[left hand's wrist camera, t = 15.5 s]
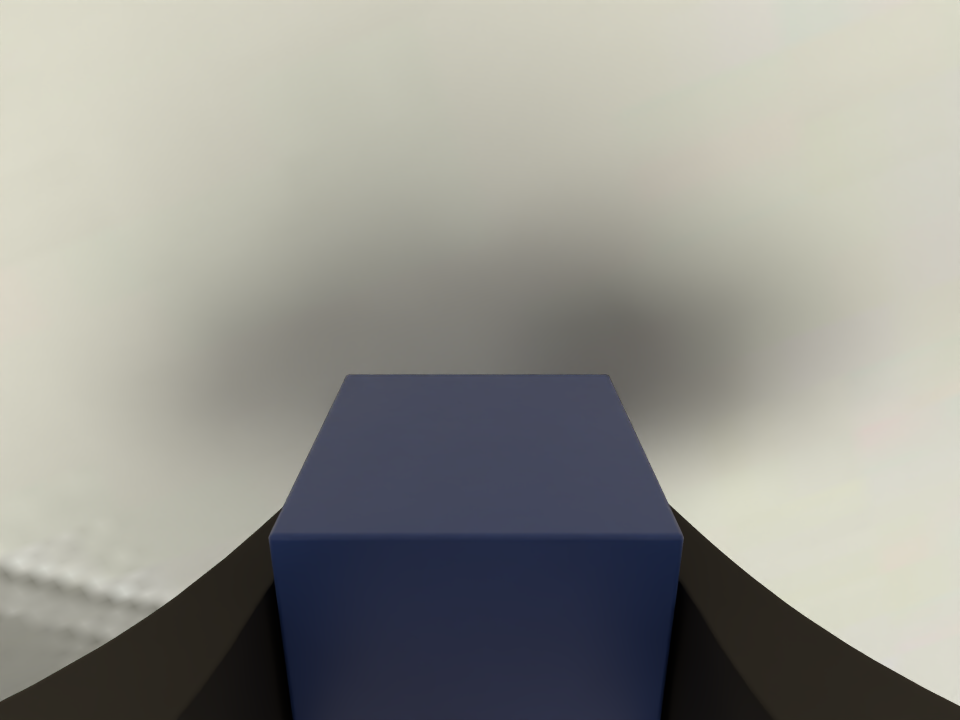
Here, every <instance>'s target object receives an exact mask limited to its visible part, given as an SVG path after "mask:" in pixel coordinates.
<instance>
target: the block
mask: <svg viewBox="0 0 960 720" xmlns="http://www.w3.org/2000/svg"><path fill="white" fill-rule="evenodd" d="M683 540H684V537H683V534H682V532H681V530H680V528H679V525H678V523H677V521H676V519H675V517H674V515H673V512H672V510H671V508H670V506H669V504H668V502H667V500H666V497H665V495H664V493H663V491H662V489H661V487H660V485H659V482H658V480H657V478H656V476H655V474H654V472H653V470H652V467H651V465H650V463H649V461H648V459H647V457H646V454H645V452H644V450H643V448H642V446H641V444H640V442H639V439H638V437H637V435H636V433H635V431H634V429H633V427H632V424H631V422H630V420H629V418H628V416H627V414H626V412H625V409H624V407H623V405H622V403H621V401H620V399H619V397H618V394H617V392H616V390H615V388H614V386H613V384H612V381H611V379H610V377H609V376H608V375H347V376H346V378H345V380H344V382H343V384H342V386H341V388H340V390H339V392H338V394H337V396H336V398H335V400H334V402H333V404H332V407H331V409H330V411H329V413H328V415H327V417H326V419H325V421H324V423H323V425H322V427H321V429H320V431H319V433H318V435H317V438H316V440H315V442H314V444H313V446H312V448H311V450H310V452H309V454H308V456H307V458H306V460H305V462H304V464H303V466H302V469H301V471H300V473H299V475H298V477H297V479H296V481H295V483H294V485H293V487H292V489H291V491H290V493H289V495H288V497H287V500H286V502H285V504H284V506H283V508H282V510H281V512H280V514H279V516H278V518H277V520H276V522H275V524H274V526H273V528H272V531H271V533H270V535H269V544H270V552H271V560H272V567H273V575H274V582H275V590H276V597H277V605H278V612H279V620H280V627H281V635H282V642H283V650H284V657H285V665H286V672H287V680H288V687H289V695H290V703H291V710H292V718H293V720H661V712H662V704H663V696H664V689H665V681H666V673H667V665H668V657H669V649H670V642H671V634H672V626H673V618H674V610H675V603H676V595H677V587H678V579H679V571H680V563H681V556H682V548H683Z"/></svg>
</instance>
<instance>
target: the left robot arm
mask: <svg viewBox="0 0 960 720" xmlns="http://www.w3.org/2000/svg"><path fill="white" fill-rule="evenodd" d="M669 506H670V505H669ZM282 508H283V507H282ZM282 508H281V509H280V510H279V511H278V512H277V513H276V514H275V515H274V516H273V517H271V518H270V519H269V520H268V521H267V522H266V523H265V524H264V525H263V526H261V527H260V528H259V529H258V530H257V531H256V532H255V533H254V534H252V535H251V536H250V537H249V538H248V539H247V540H245V541H244V542H243V543H242V544H241V545H240V546H239V547H237V548H236V549H235V550H234V551H233V552H232V553H231V554H229V555H228V556H227V557H226V558H225V559H223V560H222V561H221V562H219V563H218V564H217V565H216V566H214V567H213V568H212V569H211V570H209V571H208V572H207V573H205V574H204V575H203V576H202V577H200V578H199V579H198V580H197V581H195V582H194V583H193V584H191V585H190V586H189V587H188V588H186V589H185V590H184V591H183V592H181V593H180V594H179V595H177V596H176V597H175V598H173V599H172V600H171V601H169V602H168V603H166V604H165V605H164V606H162V607H161V608H159V609H158V610H156V611H155V612H154V613H152V614H151V615H149V616H148V617H146V618H145V619H143V620H142V621H140V622H139V623H137V624H136V625H134V626H133V627H131V628H129V629H128V630H126V631H125V632H123V633H122V634H120V635H119V636H117V637H116V638H114V639H112V640H111V641H109V642H108V643H106V644H104V645H103V646H101V647H99V648H98V649H96V650H94V651H92V652H91V653H89V654H87V655H85V656H84V657H82V658H80V659H78V660H76V661H75V662H73V663H71V664H69V665H68V666H66V667H64V668H62V669H61V670H59V671H57V672H55V673H54V674H52V675H50V676H48V677H46V678H45V679H43V680H41V681H39V682H38V683H36V684H34V685H32V686H30V687H28V688H26V689H24V690H23V691H21V692H19V693H17V694H15V695H13V696H11V697H9V698H7V699H5V700H3V701H1V702H0V720H293V718H292V710H291V703H290V695H289V687H288V680H287V672H286V665H285V657H284V650H283V642H282V635H281V627H280V620H279V612H278V605H277V597H276V590H275V582H274V575H273V567H272V560H271V552H270V544H269V535H270V533H271V531H272V528H273V526H274V524H275V522H276V520H277V518H278V516H279V514H280V512H281V510H282ZM670 508H671V510H672V512H673V515H674V517H675V519H676V521H677V523H678V525H679V528H680V530H681V532H682V534H683V537H684V540H683V548H682V556H681V563H680V571H679V579H678V587H677V595H676V603H675V610H674V618H673V626H672V634H671V642H670V649H669V657H668V665H667V673H666V681H665V689H664V696H663V704H662V712H661V720H960V706H959V705H957V704H955V703H953V702H951V701H949V700H947V699H945V698H943V697H941V696H939V695H937V694H935V693H933V692H931V691H929V690H927V689H925V688H923V687H921V686H920V685H918V684H916V683H914V682H912V681H911V680H909V679H907V678H905V677H904V676H902V675H900V674H898V673H896V672H895V671H893V670H891V669H889V668H887V667H886V666H884V665H882V664H880V663H878V662H877V661H875V660H873V659H871V658H870V657H868V656H866V655H865V654H863V653H861V652H860V651H858V650H856V649H855V648H853V647H851V646H850V645H848V644H847V643H845V642H843V641H842V640H840V639H839V638H837V637H836V636H834V635H833V634H831V633H830V632H828V631H827V630H825V629H824V628H822V627H820V626H819V625H817V624H816V623H814V622H813V621H811V620H810V619H808V618H807V617H805V616H804V615H802V614H801V613H800V612H798V611H797V610H795V609H794V608H792V607H791V606H790V605H788V604H787V603H785V602H784V601H783V600H781V599H780V598H779V597H778V596H776V595H775V594H774V593H772V592H771V591H770V590H768V589H767V588H766V587H764V586H763V585H762V584H760V583H759V582H758V581H757V580H755V579H754V578H753V577H751V576H750V575H749V574H748V573H746V572H745V571H744V570H743V569H742V568H740V567H739V566H738V565H737V564H735V563H734V562H733V561H732V560H731V559H730V558H728V557H727V556H726V555H725V554H724V553H722V552H721V551H720V550H719V549H718V548H717V547H716V546H714V545H713V544H712V543H711V542H710V541H709V540H708V539H706V538H705V537H704V536H703V535H702V534H701V533H700V532H699V531H697V530H696V529H695V528H694V527H693V526H692V525H691V524H690V523H689V522H688V521H687V520H685V519H684V518H683V517H682V516H681V515H680V514H679V513H678V512H677V511H676V510H675V509H674V508H672V507H671V506H670Z"/></svg>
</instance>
